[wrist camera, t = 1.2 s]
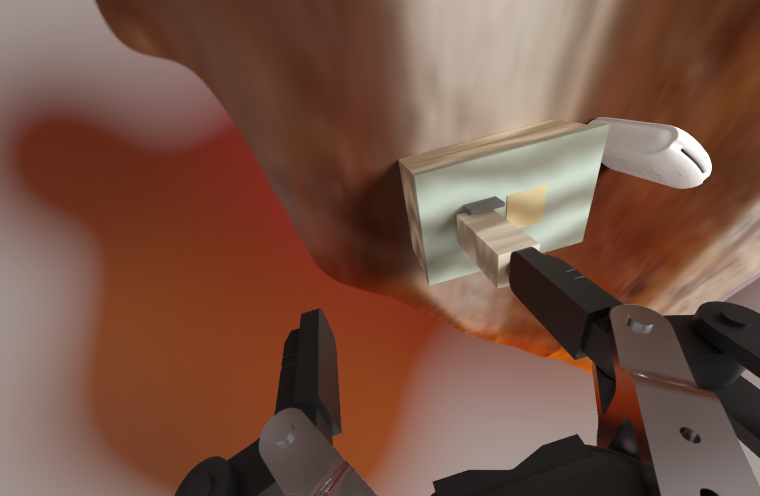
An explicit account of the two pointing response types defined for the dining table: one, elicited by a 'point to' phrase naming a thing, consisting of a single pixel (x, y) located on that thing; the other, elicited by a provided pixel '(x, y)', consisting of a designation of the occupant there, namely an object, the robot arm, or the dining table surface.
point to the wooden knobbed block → (492, 243)
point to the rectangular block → (502, 189)
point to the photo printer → (654, 152)
